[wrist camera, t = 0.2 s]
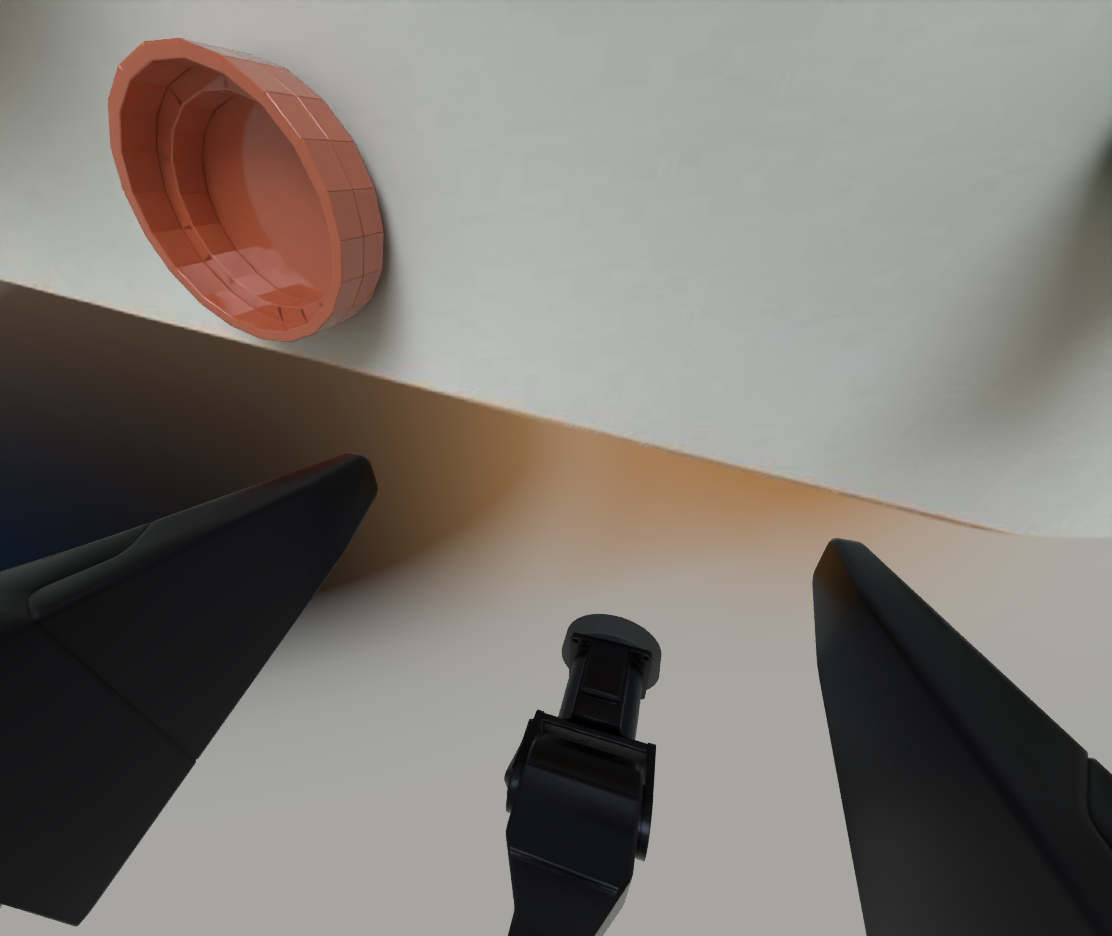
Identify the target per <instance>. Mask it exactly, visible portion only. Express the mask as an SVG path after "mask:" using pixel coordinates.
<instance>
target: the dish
mask: <svg viewBox="0 0 1112 936" xmlns="http://www.w3.org/2000/svg"><path fill="white" fill-rule="evenodd" d="M108 101H109V102H108V111H109V129H110V144H111V146H110V147H111V150H112V154H113V157H114V160H115V164H116V167H117V171H118V174H119V178H120V181H121V185H122V188H123V191H125V192H124V193H125V195H126V197H127V199H128V201H129V203H130V205H131V207H132V210H133V212H134V214H135V216H136V218H137V220H138V222H139V224H140V226H141V228H142V230H143V232H144V234H145V236H146V237H147V239H148V240H149V242H150V243H151V245H152V246H153V247H154V249H155V250H156V252H157V253H158V255H159V256H160V257H161V259H162V260H163V262H164V263H165V265H166V266H167V268H168V269H169V270H170V272H172V274H173V275H174V276H175V277H176V278H177V279H178V280H179V281H180V282H181V283H182V284H183V285H184V287H185V288H186V289H187V290H188V291H189V292H190V293H191V294H192V295H193V296H194V297H195V298H196V299H197V300H198V301H199V302H200V303H201V304H202V305H203V306H205V307H206V308H207V309H209V310H210V311H212V312H213V313H214V314H216V315H217V316H218V317H220V318H221V319H223V320H224V321H225V322H227V323H228V324H229V325H231V326H233V327H235V328H237V329H240V330H242V331H244V332H246V333H249V334H251V335H253V336H256V337H258V338H260V339H265V340H275V341H285V342H292V341H295V340H298V339H301V338H304V337H307V336H310V335H313V334H316V333H318V332H320V331H322V330H325V329H327V328H329V327H332V326H334V325H336V324H339V323H341V322H343V321H345V320H348V319H350V318H352V317H354V316H355V315H356V314H357V313H358V312H359V311H360V310H361V309H362V308H363V307H364V306H365V305H366V304H367V303H368V302H369V301H370V300H371V298H372V296H373V293H374V291H375V288H376V285H377V283H378V280H379V277H380V275H381V272H382V266H383V242H384V233H383V231H384V230H383V225H382V220H381V216H380V211H379V206H378V201H377V196H376V192H375V189H374V185H373V183H372V180H371V178H370V176H369V174H368V171H367V169H366V167H365V165H364V162H363V160H362V158H361V156H360V153H359V151H358V149H357V147H356V144H355V143H354V141H353V140H352V138H351V137H350V135H349V134H348V133H347V131H346V130H345V129H344V127H343V126H342V124H341V123H340V122H339V120H338V119H337V118H336V116H335V115H334V113H333V112H332V111H331V109H330V108H329V107H328V105H327V104H326V102H325V101H323V99H322V98H321V97H319V96H318V95H317V94H316V93H315V92H313V91H312V90H311V89H310V88H309V87H307V86H306V85H305V84H304V83H303V82H302V81H300V80H299V79H298V78H297V77H296V76H294V75H293V74H292V73H291V72H290V71H289V70H286V69H285V68H283V67H281V66H278V65H276V64H273V63H271V62H268V61H266V60H263V59H261V58H258V57H256V56H253V55H251V54H247V53H243V52H238V51H234V50H230V49H225V48H221V47H217V46H213V45H208V44H204V43H200V42H195V41H191V40H187V39H182V38H173V39H163V40H154V41H145V42H144V43H141V44H140V45H139V46H138V47H137V48H136V49H135V50H134V51H133V52H132V53H131V54H130V55H129V56H128V57H126V58H125V59H124V60H123V61H122V62H121V63H120V64H119V66H118V68H117V71H116V75H115V78H114V82H113V85H112V89H111V92H110V96H109V99H108Z"/></svg>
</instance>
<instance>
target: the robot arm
mask: <svg viewBox="0 0 1112 936" xmlns="http://www.w3.org/2000/svg"><path fill="white" fill-rule="evenodd" d="M377 490H378V488H377V482H376V479H375V476H374V473H373V469H372V466H371V463H370V460H369V459H368V458H367V457H366V456H365V455H361V454H355V453H345V454H342V455H339V456H336V457H333V458H331V459H328V460H325V461H322V462H319V463H317V464H314V465H311V466H308V467H305V468H302V469H300V470H297V471H294V472H291V473H288V474H285V475H283V476H280V477H277V478H274V479H271V480H269V481H266V482H263V483H260V484H257V485H255V486H252V487H249V488H246V489H243V490H241V491H238V492H235V493H232V494H229V495H226V496H223V497H221V498H218V499H215V500H212V501H209V502H207V503H204V504H201V505H198V506H195V507H192V508H190V509H187V510H184V511H181V512H178V513H175V514H172V515H170V516H167V517H164V518H161V519H158V520H156V521H154V522H152V523H151V524H150V523H147V524H144V525H141V526H138V527H136V528H133V529H130V530H127V531H125V532H122V533H118V534H116V535H113V536H110V537H107V538H104V539H101V540H98V541H96V542H92V543H89V544H86V545H83V546H80V547H77V548H74V549H71V550H68V551H64V552H61V553H58V554H55V555H52V556H49V557H46V558H43V559H40V560H36V561H33V562H30V563H27V564H23V565H20V566H17V567H14V568H10V569H7V570H4V571H1V572H0V907H1V906H2V905H3V904H4V905H7V906H11V907H14V908H17V909H20V910H23V911H27V912H30V913H33V914H36V915H40V916H43V917H46V918H50V919H53V920H56V921H59V922H63V923H66V924H69V925H72V926H78V925H79V924H80V923H81V922H82V921H83V920H84V918H85V917H86V916H87V915H88V914H89V912H90V911H91V910H92V908H93V907H94V906H95V904H96V903H97V902H98V900H99V899H100V897H101V896H102V894H103V893H104V891H105V890H106V889H107V887H108V886H109V884H110V883H111V882H112V880H113V879H114V878H115V876H116V875H117V873H118V872H119V870H120V869H121V868H122V866H123V865H124V863H125V862H126V861H127V859H128V858H129V856H130V855H131V853H132V852H133V851H134V849H135V848H136V846H137V845H138V844H139V842H140V841H141V839H142V838H143V836H144V835H145V834H146V832H147V831H148V829H149V828H150V827H151V825H152V824H153V822H154V821H155V820H156V818H157V817H158V815H159V814H160V812H161V811H162V810H163V808H164V807H165V805H166V804H167V803H168V801H169V800H170V798H171V797H172V796H173V794H174V793H175V791H176V790H177V788H178V787H179V786H180V784H181V783H182V781H183V780H184V778H185V777H186V776H187V774H188V773H189V771H190V770H191V769H192V767H193V766H194V764H195V763H196V759H198V758H199V756H200V755H201V754H202V752H203V751H204V750H205V748H206V747H207V745H208V744H209V743H210V741H211V740H212V738H213V737H214V736H215V734H216V733H217V731H218V730H219V729H220V727H221V726H222V724H223V723H224V722H225V720H226V719H227V717H228V716H229V714H230V713H231V712H232V710H233V709H234V707H235V706H236V704H237V703H238V702H239V700H240V699H241V698H242V696H243V695H244V693H245V692H246V690H247V689H248V688H249V686H250V685H251V683H252V682H253V681H254V679H255V678H256V676H257V675H258V674H259V672H260V671H261V669H262V668H263V667H264V665H265V664H266V662H267V661H268V659H269V658H270V656H271V655H272V654H273V652H274V651H275V650H276V648H277V647H278V645H279V644H280V643H281V641H282V640H283V638H284V637H285V635H286V634H287V633H288V631H289V630H290V628H291V627H292V626H293V624H294V623H295V621H296V620H297V618H298V617H299V615H300V614H301V613H302V611H303V610H304V608H305V607H306V606H307V604H308V603H309V602H310V600H311V599H312V597H313V596H314V594H315V593H316V592H317V590H318V589H319V587H320V586H321V585H322V583H323V582H324V580H325V579H326V578H327V576H328V575H329V573H330V572H331V571H332V569H333V568H334V566H335V565H336V563H337V562H338V560H339V559H340V558H341V556H342V555H343V553H344V551H345V550H346V548H347V546H348V545H349V543H350V541H351V539H352V538H353V536H354V534H355V532H356V531H357V529H358V527H359V525H360V523H361V522H362V520H363V518H364V517H365V515H366V513H367V511H368V510H369V508H370V506H371V504H372V502H373V500H374V499H375V497H376V494H377ZM813 601H814V619H815V635H816V636H815V637H816V654H817V666H818V672H819V679H820V684H821V690H822V696H823V701H824V707H825V712H826V717H827V723H828V728H829V734H830V739H831V745H832V749H833V756H834V761H835V766H836V772H837V777H838V783H839V788H840V793H841V799H842V804H843V810H844V815H845V820H846V826H847V831H848V837H849V842H850V848H851V853H852V859H853V864H854V870H855V875H856V880H857V886H858V891H859V897H860V902H861V908H862V913H863V918H864V924H865V929H866V934H867V936H1112V774H1111V773H1110V772H1109V771H1108V770H1107V769H1105V768H1104V767H1103V766H1102V765H1101V764H1100V763H1099V762H1098V761H1097V760H1095V759H1093V758H1088V753H1087V751H1086V750H1085V749H1084V748H1083V747H1081V746H1080V745H1079V744H1078V743H1077V742H1076V741H1075V740H1074V739H1073V738H1072V737H1071V736H1070V735H1068V734H1067V733H1066V732H1065V731H1064V730H1063V729H1062V728H1061V727H1060V726H1059V725H1058V724H1057V723H1055V722H1054V721H1053V720H1052V719H1051V718H1050V717H1049V716H1048V715H1047V714H1046V713H1045V712H1044V711H1043V710H1042V709H1041V708H1039V707H1038V706H1037V705H1036V704H1035V703H1034V702H1033V701H1032V700H1030V698H1028V696H1027V695H1025V694H1024V693H1023V692H1022V691H1021V690H1020V689H1019V688H1018V687H1017V686H1015V684H1014V683H1013V682H1011V681H1010V680H1009V679H1008V678H1007V677H1006V676H1005V675H1004V674H1003V673H1002V672H1001V671H1000V670H998V669H997V668H996V667H995V666H994V665H993V664H992V663H991V662H990V661H989V660H988V659H987V658H986V657H984V656H983V655H982V654H981V653H980V652H979V651H978V650H977V649H976V648H975V647H973V646H972V644H970V643H969V642H968V641H967V640H966V639H965V638H964V637H963V636H962V635H960V633H959V632H958V631H956V630H955V629H954V628H953V627H952V626H951V625H950V624H949V623H948V622H946V620H944V618H942V617H941V616H940V615H939V614H938V613H937V612H936V611H935V610H934V609H933V608H932V607H931V606H929V605H928V604H927V603H926V602H925V601H924V600H923V599H922V598H921V597H920V596H919V595H918V594H917V593H915V592H914V591H913V590H912V589H911V588H910V587H909V586H908V585H907V584H906V583H905V582H904V581H902V580H901V579H900V578H899V577H898V576H897V575H896V574H895V573H894V572H893V571H892V570H891V569H890V568H888V567H887V566H886V565H885V564H884V563H883V562H882V561H881V560H880V559H879V558H878V557H877V556H876V555H875V554H873V553H872V552H871V551H870V550H869V549H868V548H867V547H866V546H865V545H863V544H862V543H860V542H857V541H852V540H846V539H840V538H834V539H832V540H831V541H830V542H829V543H828V545H827V547H826V549H825V551H824V553H823V555H822V557H821V559H820V561H819V563H818V565H817V567H816V569H815V571H814V574H813ZM652 658H653V654H652V652H650V651H649V650H645V649H641V648H637V647H633V646H629V645H625V644H621V643H617V642H613V641H609V640H605V639H600V638H596V637H592V636H588V635H584V634H580V633H572V634H571V636H570V653H569V679H568V683H567V687H566V690H565V694H564V698H563V701H562V705H561V709H560V712H559V716H558V717H556V716H553V715H549V714H546V713H544V711H541V710H537V711H536V714H535V717H534V718H533V719H529V722H528V725H527V728H526V731H525V734H524V737H523V740H522V742H521V744H520V746H519V748H518V750H517V752H516V754H515V756H514V758H513V759H512V761H511V763H510V765H509V767H508V769H507V771H506V773H505V778H504V780H505V783H506V786H507V788H508V790H507V802H506V811H507V812H508V813H511V814H510V817H509V821H508V824H507V828H506V840H507V849H508V856H509V865H510V873H511V881H512V889H513V898H514V906H515V908H514V914H513V918H512V922H511V926H510V930H509V933H508V936H603V935H604V933H605V932H606V930H607V928H608V927H609V926H610V924H611V923H612V921H613V920H614V918H615V917H616V916H617V914H618V913H619V911H620V910H621V908H622V907H623V905H624V902H625V899H626V896H627V892H628V889H629V886H630V883H631V879H632V875H633V869H634V859H635V858H636V859H639V860H641V861H645V858H646V853H647V848H648V841H649V834H650V826H651V816H652V806H653V788H654V773H655V755H656V745H655V744H651V743H648V744H646V743H643V742H639V741H636V740H635V737H636V729H637V722H638V715H639V706H640V699H644V698H645V694H646V689H647V684H648V679H649V674H650V669H651V664H652Z"/></svg>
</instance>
